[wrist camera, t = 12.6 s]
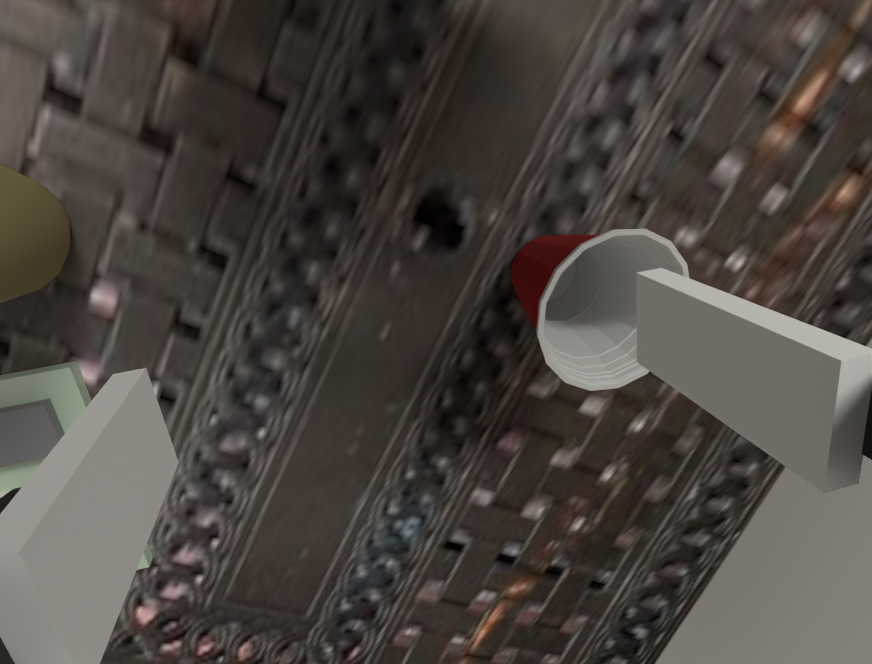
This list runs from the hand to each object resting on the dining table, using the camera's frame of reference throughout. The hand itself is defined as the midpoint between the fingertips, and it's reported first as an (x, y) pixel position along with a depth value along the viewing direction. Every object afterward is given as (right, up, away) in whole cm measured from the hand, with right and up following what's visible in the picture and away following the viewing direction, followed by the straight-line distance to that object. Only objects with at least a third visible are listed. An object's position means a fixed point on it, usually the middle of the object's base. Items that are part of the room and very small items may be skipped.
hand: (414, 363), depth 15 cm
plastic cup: (+9, +6, +31) cm, 33 cm away
